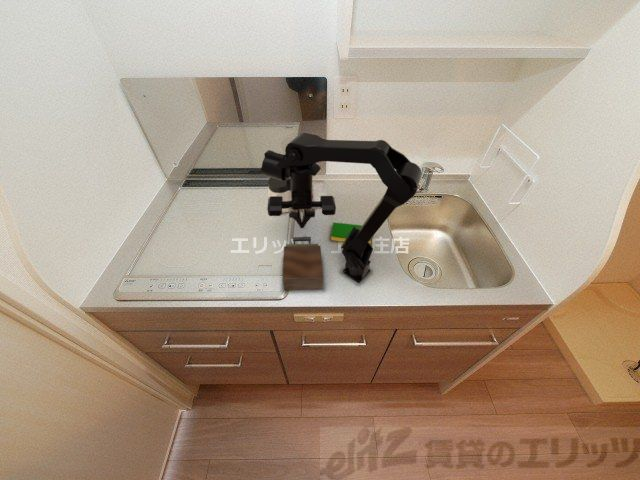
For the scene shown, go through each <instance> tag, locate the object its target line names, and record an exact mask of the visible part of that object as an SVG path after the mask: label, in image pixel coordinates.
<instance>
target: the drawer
mask: <svg viewBox="0 0 640 480" xmlns="http://www.w3.org/2000/svg"><path fill="white" fill-rule="evenodd" d="M292 242H293V243H286V244H285V246H319V243H312V236H293V237H292ZM296 242H308V243H296Z"/></svg>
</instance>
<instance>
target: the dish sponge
mask: <svg viewBox="0 0 640 480" xmlns="http://www.w3.org/2000/svg"><path fill="white" fill-rule="evenodd" d="M362 225H363V224H354V223H345V222H344V223H343V222H335V221H334V222H333V223H332V229H331V236H330V239H331V241H336V242H343V243H344V241H345V239H346V237H347V236H348V234H349V233H350V232H351V230H352V229H353V227H355V228H356V229H359V228H361V227H362ZM372 238H373V237H372ZM372 238H371V239H370V240H369V244H370V245H371V243H372Z"/></svg>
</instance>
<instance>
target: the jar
mask: <svg viewBox="0 0 640 480" xmlns="http://www.w3.org/2000/svg"><path fill="white" fill-rule="evenodd" d="M267 185H268V188H267V193H268V198H269V197H270V196H282V197H283V201H291V191H287V189H286V180H284V181H282V180H278V179H275V178H272V177H269V179H268V180H267ZM283 201H282V202H283ZM283 213H284V214H285V213H289V209H288V208H286V209H282V214H283Z"/></svg>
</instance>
